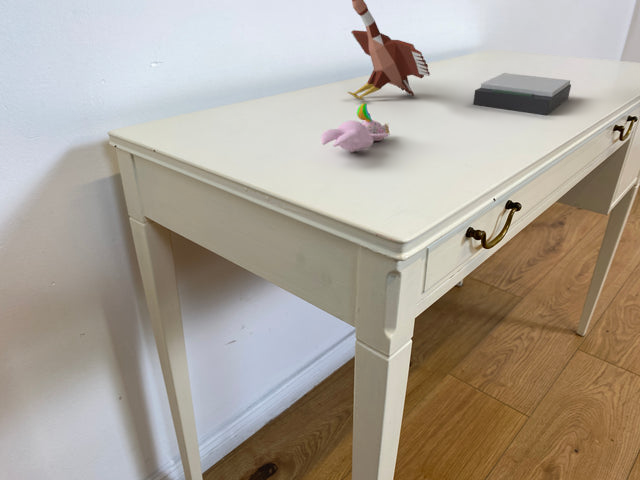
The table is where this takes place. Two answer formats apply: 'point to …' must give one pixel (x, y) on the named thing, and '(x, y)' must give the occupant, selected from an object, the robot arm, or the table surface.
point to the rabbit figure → (356, 132)
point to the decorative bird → (386, 56)
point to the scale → (523, 93)
